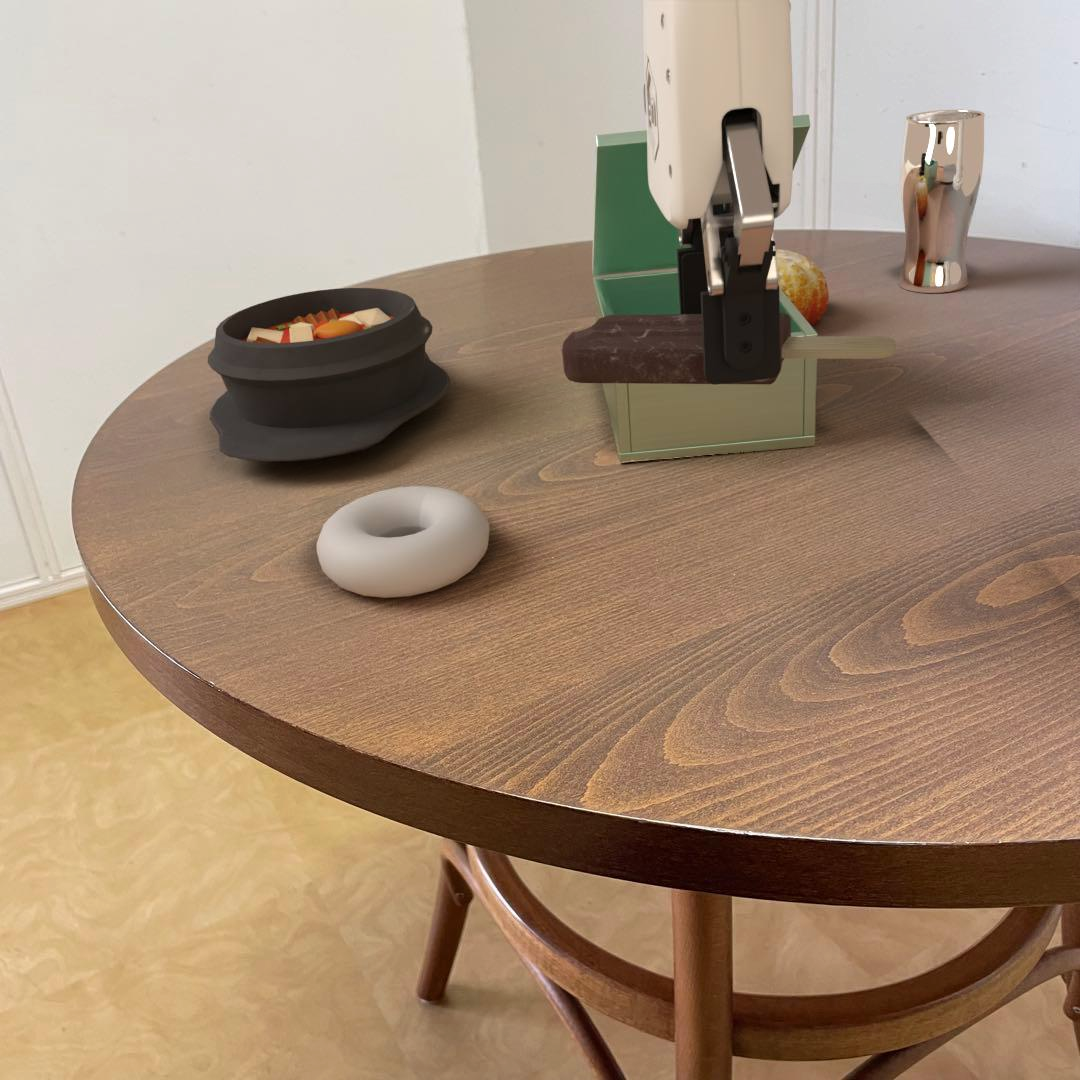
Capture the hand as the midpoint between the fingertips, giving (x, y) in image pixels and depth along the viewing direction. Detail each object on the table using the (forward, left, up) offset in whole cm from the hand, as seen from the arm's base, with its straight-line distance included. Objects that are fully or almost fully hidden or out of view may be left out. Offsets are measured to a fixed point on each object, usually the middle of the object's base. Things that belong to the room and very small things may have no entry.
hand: (727, 348), depth 52 cm
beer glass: (-29, -54, -14) cm, 62 cm away
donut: (+17, -8, -14) cm, 24 cm away
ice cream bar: (0, 0, -1) cm, 1 cm away
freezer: (-3, -29, -14) cm, 32 cm away
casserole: (+25, -33, -14) cm, 44 cm away
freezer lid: (-3, -30, 0) cm, 30 cm away
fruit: (-12, -47, -14) cm, 50 cm away
